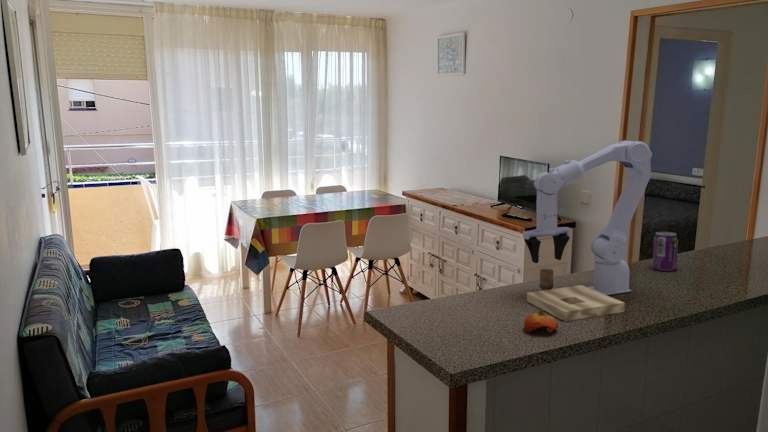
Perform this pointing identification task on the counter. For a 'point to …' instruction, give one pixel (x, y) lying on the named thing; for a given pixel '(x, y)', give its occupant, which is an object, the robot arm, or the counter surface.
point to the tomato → (539, 322)
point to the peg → (546, 279)
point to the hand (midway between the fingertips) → (546, 260)
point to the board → (575, 302)
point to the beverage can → (665, 251)
